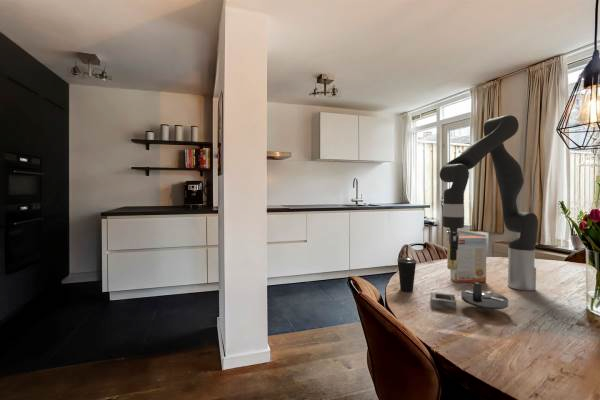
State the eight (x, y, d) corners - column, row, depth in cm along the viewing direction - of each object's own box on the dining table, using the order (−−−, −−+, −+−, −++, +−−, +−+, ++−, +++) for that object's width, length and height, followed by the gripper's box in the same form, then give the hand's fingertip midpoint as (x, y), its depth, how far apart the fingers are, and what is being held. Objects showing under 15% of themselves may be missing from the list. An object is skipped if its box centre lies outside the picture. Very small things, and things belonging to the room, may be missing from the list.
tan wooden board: (499, 307, 109) (499, 297, 108) (510, 325, 95) (510, 313, 95) (430, 299, 117) (430, 289, 117) (431, 314, 103) (431, 303, 103)
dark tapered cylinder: (407, 296, 120) (407, 247, 119) (393, 291, 127) (393, 244, 126) (420, 293, 124) (420, 245, 123) (406, 288, 130) (406, 242, 130)
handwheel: (470, 291, 114) (471, 271, 114) (514, 301, 103) (514, 280, 103) (454, 300, 105) (454, 279, 105) (499, 313, 94) (500, 289, 94)
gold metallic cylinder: (456, 267, 118) (457, 240, 118) (458, 270, 115) (458, 241, 115) (446, 267, 120) (447, 239, 119) (447, 269, 116) (448, 241, 116)
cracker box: (479, 278, 143) (480, 235, 142) (486, 282, 137) (487, 237, 136) (449, 278, 144) (450, 235, 143) (454, 282, 138) (455, 237, 137)
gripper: (466, 217, 109) (465, 264, 109) (461, 214, 122) (461, 255, 122) (443, 216, 111) (443, 262, 112) (441, 213, 125) (440, 254, 125)
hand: (452, 258), depth 117 cm, fingers closed on gold metallic cylinder, 3 cm apart
